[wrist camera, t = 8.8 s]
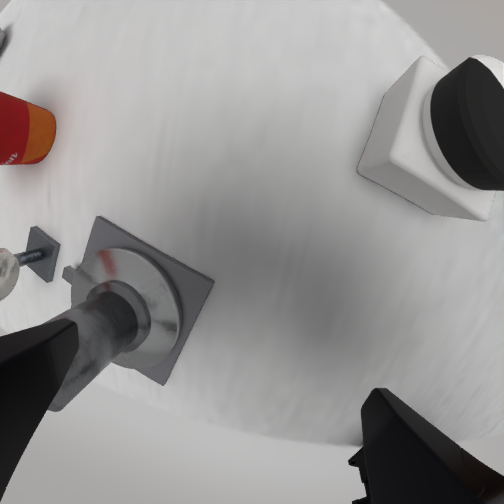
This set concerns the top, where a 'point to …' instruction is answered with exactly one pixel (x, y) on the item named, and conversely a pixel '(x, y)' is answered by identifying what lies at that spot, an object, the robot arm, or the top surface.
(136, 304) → the cylinder with brass cap
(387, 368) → the top surface
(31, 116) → the paper cup
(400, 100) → the medicine bottle
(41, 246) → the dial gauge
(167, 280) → the platter
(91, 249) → the turntable base
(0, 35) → the die
